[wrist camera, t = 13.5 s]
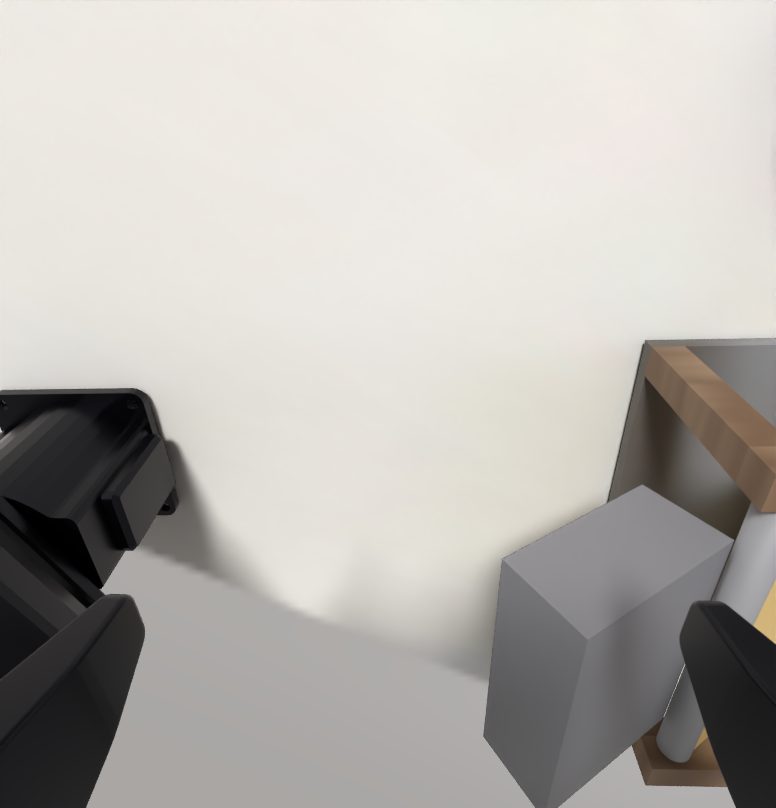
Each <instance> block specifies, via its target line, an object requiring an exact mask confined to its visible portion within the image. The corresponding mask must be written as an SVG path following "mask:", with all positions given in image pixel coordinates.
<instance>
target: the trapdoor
mask: <svg viewBox="0 0 776 808" xmlns="http://www.w3.org/2000/svg"><path fill="white" fill-rule="evenodd" d="M733 542H734V540H733V539H731V538H730V537H728V536H726V535H725V534H723V533H721V532H720V531H718V530H717V529H715V528H713V527H712V526H710V525H708V524H707V523H705V522H703V521H702V520H700V519H698V518H697V517H695V516H693V515H692V514H690V513H689V512H687V511H685V510H684V509H682V508H680V507H679V506H677V505H675V504H674V503H672V502H670V501H669V500H667V499H665V498H664V497H662V496H661V495H659V494H657V493H656V492H654V491H652V490H651V489H649V488H647V487H646V486H644V485H640V486H638V487H637V488H635V489H633V490H631V491H629V492H627V493H625V494H623V495H622V496H620V497H618V498H616V499H614V500H612V501H610V502H608V503H606V504H605V505H603V506H601V507H599V508H597V509H595V510H593V511H591V512H590V513H588V514H586V515H584V516H582V517H580V518H578V519H576V520H575V521H573V522H571V523H569V524H567V525H565V526H563V527H561V528H560V529H558V530H556V531H554V532H552V533H550V534H548V535H546V536H545V537H543V538H541V539H539V540H537V541H535V542H533V543H531V544H529V545H528V546H526V547H524V548H522V549H520V550H518V551H516V552H514V553H513V554H511V555H509V556H507V557H505V558H503V559H502V565H501V575H500V584H499V594H498V603H497V612H496V622H495V631H494V641H493V650H492V660H491V669H490V679H489V688H488V698H487V707H486V717H485V726H484V738H485V739H486V741H487V742H488V743H489V745H490V746H491V747H492V749H493V750H494V752H495V753H496V754H497V755H498V757H499V758H500V760H501V761H502V763H503V764H504V765H505V766H506V768H507V769H508V771H509V772H510V773H511V775H512V776H513V777H514V779H515V780H516V782H517V783H518V784H519V786H520V787H521V789H522V790H523V791H524V793H525V794H526V795H527V797H528V798H529V800H530V801H531V802H532V804H533V805H534V806H535V808H558V807H559V806H560V805H561V804H562V803H563V802H565V801H566V800H567V799H568V798H570V797H571V796H572V795H573V794H574V793H575V792H576V791H578V790H579V789H580V788H581V787H583V786H584V785H585V784H586V783H587V782H588V781H590V780H591V779H592V778H593V777H594V776H595V775H597V774H598V773H599V772H600V771H601V770H603V769H604V768H605V767H606V766H607V765H608V764H610V763H611V762H612V761H613V760H614V759H616V758H617V757H618V756H619V755H620V754H621V753H623V752H624V751H625V750H626V749H627V748H628V747H630V746H631V745H632V744H633V743H634V742H636V741H637V740H638V739H639V738H640V737H642V736H643V735H644V734H645V733H646V732H647V731H649V730H650V729H651V728H652V727H653V726H655V725H656V724H657V723H658V722H659V721H660V720H662V719H663V716H664V714H665V711H666V709H667V706H668V704H669V701H670V699H671V696H672V694H673V691H674V689H675V686H676V684H677V681H678V679H679V676H680V674H681V671H682V669H683V666H684V664H685V661H684V658H683V655H682V652H681V648H680V643H679V636H680V631H681V629H682V626H683V623H684V621H685V618H686V616H687V613H688V611H689V608H690V606H691V604H692V603H693V602H694V601H698V600H710V599H711V597H712V594H713V592H714V589H715V587H716V584H717V582H718V579H719V577H720V574H721V572H722V570H723V567H724V565H725V562H726V560H727V557H728V555H729V552H730V550H731V547H732V545H733ZM712 601H721V602H723V603H725V604H727V605H728V606H729V607H731V608H732V609H733V610H734V611H736V612H737V613H738V614H739V615H741V616H742V617H743V618H744V619H746V620H747V621H748V622H749V623H750V624H752V625H753V626H754V627H755V628H757V629H758V630H759V631H760V632H762V633H763V634H764V635H765V636H767V637H768V638H769V639H770V640H771V641H773V642H774V643H775V644H776V512H766V513H761V512H760V511H759V510H758V509H757V508H756V507H755V505H754V504H753V503H752V502H751V504H750V506H749V509H748V511H747V514H746V516H745V519H744V521H743V524H742V526H741V529H740V531H739V534H738V536H737V539H736V541H735V544H734V546H733V548H732V551H731V553H730V556H729V558H728V561H727V563H726V566H725V568H724V571H723V573H722V576H721V578H720V581H719V583H718V586H717V588H716V590H715V593H714V595H713V598H712ZM707 737H708V736H707V732H706V729H705V726H704V723H703V720H702V716H701V713H700V710H699V707H698V703H697V700H696V697H695V694H694V691H693V687H692V684H691V681H690V678H689V674H688V671H687V668H686V665H685V667H684V670H683V672H682V674H681V677H680V679H679V682H678V684H677V687H676V689H675V692H674V694H673V697H672V699H671V702H670V704H669V707H668V709H667V712H666V714H665V716H664V719H663V721H662V724H661V726H660V729H659V731H658V734H657V737H656V742H657V745H658V747H659V749H660V751H661V752H662V753H663V754H664V755H665V756H666V757H667V758H669V759H670V760H672V761H675V762H679V763H682V762H686V761H688V760H689V759H690V757H691V755H692V753H693V750H694V749H696V748H697V747H698V746H699V745H700V744H701V743H702V742H703V741H704V740H705V739H706V738H707Z"/></svg>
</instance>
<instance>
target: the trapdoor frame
mask: <svg viewBox="0 0 776 808" xmlns="http://www.w3.org/2000/svg"><path fill="white" fill-rule="evenodd" d="M640 485H644V486H646V487H647V488H649V489H651V490H652V491H654V492H656V493H657V494H659V495H661V496H662V497H664V498H665V499H667V500H669V501H670V502H672V503H674V504H675V505H677V506H679V507H680V508H682V509H684V510H685V511H687V512H689V513H690V514H692V515H693V516H695V517H697V518H698V519H700V520H702V521H703V522H705V523H707V524H708V525H710V526H712V527H713V528H715V529H717V530H718V531H720V532H721V533H723V534H725V535H726V536H728V537H730V538H731V539H733V540H734V542H733V545H732V547H731V550H730V552H729V555H728V557H727V560H726V562H725V565H724V567H723V570H722V572H721V574H720V577H719V579H718V582H717V584H716V587H715V589H714V592H713V594H712V597H711V599H710V600H712V598H713V595H714V593H715V590H716V588H717V586H718V583H719V581H720V578H721V576H722V573H723V571H724V568H725V566H726V563H727V561H728V558H729V556H730V553H731V551H732V548H733V546H734V544H735V541H736V539H737V536H738V534H739V531H740V529H741V526H742V524H743V521H744V519H745V516H746V514H747V511H748V509H749V506H750V504H751V502H752V503H753V504H754V505H755V507H756V508H757V509H758V510H759V511H760V512H761V513H766V512H776V338H756V339H697V340H645V344H644V348H643V353H642V357H641V361H640V366H639V370H638V375H637V379H636V383H635V388H634V392H633V396H632V401H631V405H630V409H629V414H628V418H627V423H626V427H625V431H624V436H623V440H622V444H621V449H620V453H619V458H618V462H617V466H616V471H615V475H614V479H613V484H612V488H611V492H610V497H609V501H608V502H610V501H612V500H614V499H616V498H618V497H620V496H622V495H623V494H625V493H627V492H629V491H631V490H633V489H635V488H637V487H638V486H640ZM663 719H664V717H663ZM663 719H662V720H660V721H659V722H658V723H657V724H656V725H655V726H653V727H652V728H651V729H650V730H649V731H647V732H646V733H645V734H644V735H643V736H642V737H640V738H639V739H638V740H637V741H636V742H634V743H633V744H632V747H633V750H634V753H635V756H636V759H637V761H638V765H639V768H640V770H641V773H642V776H643V779H644V782H645V785H654V786H704V787H727V785H726V783H725V780H724V778H723V775H722V773H721V771H720V768H719V766H718V763H717V761H716V758H715V756H714V753H713V750H712V747H711V744H710V741H709V739H708V737H707V738H706V739H705V740H704V741H703V742H702V743H701V744H700V745H699V746H698V747H697V748H696V749H694V750H693V753H692V755H691V757H690V759H689V760H688V761H686V762H682V763H679V762H675V761H672V760H670V759H669V758H667V757H666V756H665V755H664V754H663V753H662V752H661V751H660V749H659V747H658V745H657V742H656V737H657V734H658V731H659V729H660V726H661V724H662V721H663Z"/></svg>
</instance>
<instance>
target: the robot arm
mask: <svg viewBox="0 0 776 808" xmlns="http://www.w3.org/2000/svg"><path fill="white" fill-rule="evenodd" d="M130 398H131V399H134V400H136V401H137V403H138V404H134V403H133V402H132V401H131V400H130ZM3 401H4V402H6V404H7V405H6V404H4V403H3ZM0 428H1V430H2V432H1V433H0V808H86V806H87V804H88V801H89V799H90V797H91V794H92V792H93V789H94V787H95V784H96V781H97V779H98V777H99V775H100V772H101V770H102V767H103V765H104V762H105V760H106V757H107V755H108V753H109V750H110V747H111V745H112V742H113V740H114V737H115V734H116V731H117V728H118V725H119V722H120V718H121V715H122V712H123V708H124V705H125V702H126V699H127V695H128V692H129V689H130V685H131V682H132V679H133V675H134V672H135V668H136V665H137V662H138V659H139V655H140V652H141V649H142V646H143V642H144V638H145V627H144V624H143V621H142V618H141V616H140V613H139V611H138V608H137V606H136V603H135V601H134V599H133V598H132V597H131V596H130V595H126V594H109V595H105V594H104V593H103V592H102V591H101V590H100V589H101V588H102V587H103V586H104V584H105V583H106V581H107V579H108V578H109V576H110V575H111V573H112V571H113V570H114V568H115V567H116V565H117V563H118V562H119V560H120V559H121V557H122V555H123V554H124V552H125V551H133V550H134V549H135V548H136V547H137V546H138V545H139V544H140V542H141V540H142V539H143V537H144V535H145V534H146V532H147V530H148V529H149V527H150V525H151V524H152V522H153V520H154V519H155V517H156V515H171V514H173V513H174V512H175V510H176V508H177V506H178V505H179V501H178V498H177V494H176V491H175V488H174V485H175V479H174V475H173V472H172V469H171V465H170V462H169V458H168V455H167V452H166V448H165V445H164V441H163V439H162V438H161V437H160V435H159V434H158V431H157V428H156V424H155V421H154V418H153V414H152V411H151V408H150V404H149V401H148V398H147V396H146V394H144V393H143V392H142V391H140V390H138V389H134V388H118V389H44V390H1V391H0ZM164 503H167V504H168V505H166V504H164ZM679 643H680V648H681V652H682V655H683V658H684V661H685V665H686V668H687V671H688V674H689V678H690V681H691V684H692V687H693V691H694V694H695V697H696V700H697V703H698V707H699V710H700V713H701V716H702V720H703V723H704V726H705V729H706V732H707V736H708V739H709V741H710V744H711V747H712V750H713V753H714V756H715V758H716V761H717V763H718V766H719V768H720V771H721V773H722V775H723V778H724V780H725V783H726V785H727V787H728V790H729V792H730V794H731V797H732V799H733V802H734V804H735V806H736V808H776V644H775V643H774V642H773V641H771V640H770V639H769V638H768V637H767V636H765V635H764V634H763V633H762V632H760V631H759V630H758V629H757V628H755V627H754V626H753V625H752V624H750V623H749V622H748V621H747V620H746V619H744V618H743V617H742V616H741V615H739V614H738V613H737V612H736V611H734V610H733V609H732V608H731V607H729V606H728V605H727V604H725V603H723V602H721V601H712V600H698V601H694V602H693V603H692V604H691V606H690V608H689V611H688V613H687V616H686V618H685V621H684V623H683V626H682V629H681V631H680V636H679Z"/></svg>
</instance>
